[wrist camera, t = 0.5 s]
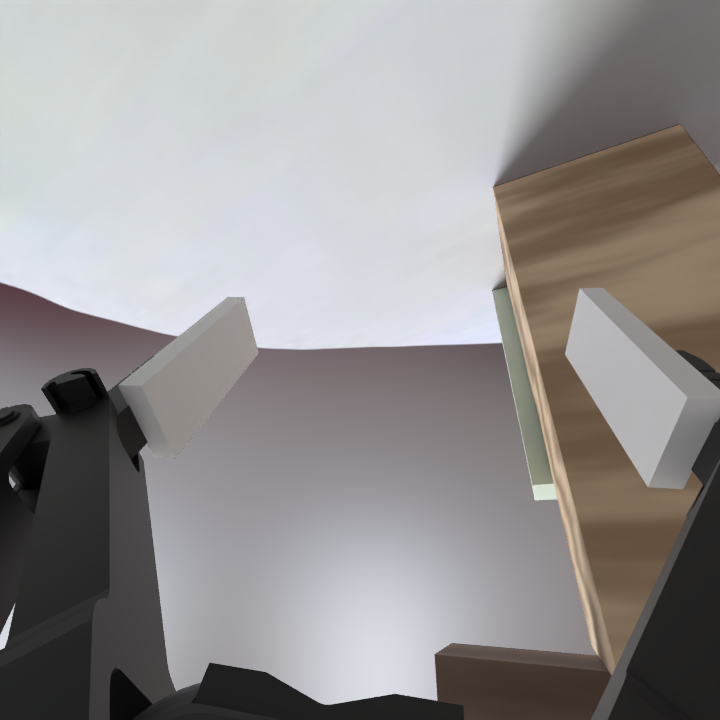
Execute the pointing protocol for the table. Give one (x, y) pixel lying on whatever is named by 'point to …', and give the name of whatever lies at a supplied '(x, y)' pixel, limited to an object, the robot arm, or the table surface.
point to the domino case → (520, 683)
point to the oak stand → (643, 299)
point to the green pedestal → (524, 400)
